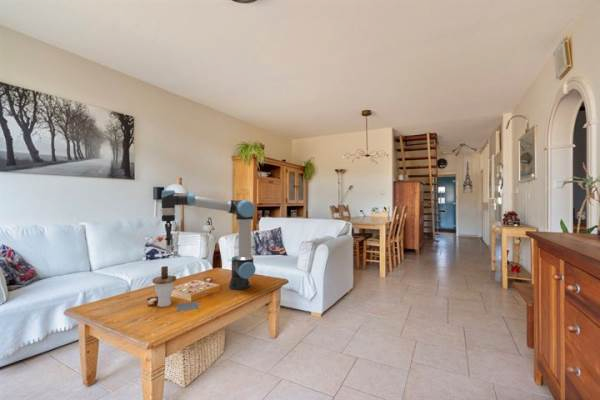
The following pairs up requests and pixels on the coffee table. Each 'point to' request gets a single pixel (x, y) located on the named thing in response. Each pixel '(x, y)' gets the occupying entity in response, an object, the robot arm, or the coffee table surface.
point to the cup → (164, 293)
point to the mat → (187, 306)
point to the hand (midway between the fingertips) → (168, 248)
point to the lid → (164, 277)
